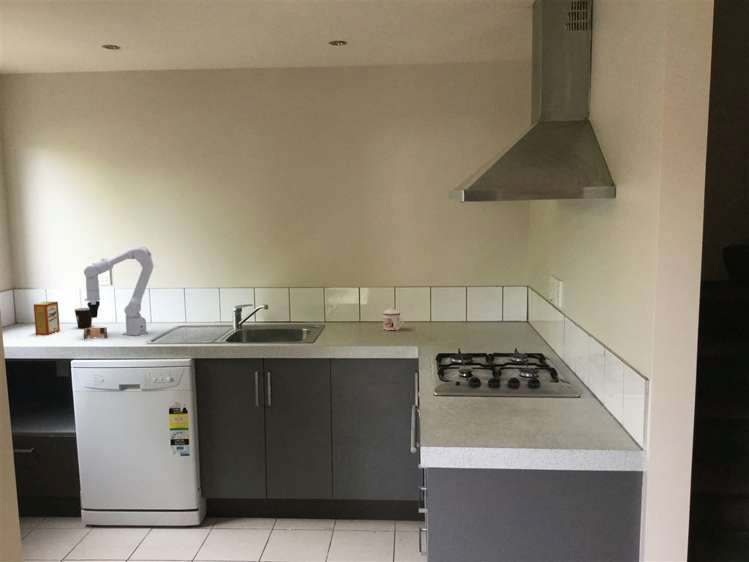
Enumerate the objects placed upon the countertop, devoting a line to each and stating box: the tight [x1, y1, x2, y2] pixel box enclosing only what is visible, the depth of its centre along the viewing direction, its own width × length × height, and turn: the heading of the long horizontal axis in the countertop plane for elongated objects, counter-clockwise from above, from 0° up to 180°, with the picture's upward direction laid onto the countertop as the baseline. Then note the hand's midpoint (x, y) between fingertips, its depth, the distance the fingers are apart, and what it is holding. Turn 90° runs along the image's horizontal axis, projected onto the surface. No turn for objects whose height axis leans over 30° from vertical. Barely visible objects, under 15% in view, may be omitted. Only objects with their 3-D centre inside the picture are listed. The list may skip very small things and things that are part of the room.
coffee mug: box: [74, 307, 93, 330], centre depth 321 cm, size 12×9×10 cm
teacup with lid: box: [382, 306, 405, 331], centre depth 310 cm, size 12×9×12 cm
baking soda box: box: [33, 301, 61, 336], centre depth 308 cm, size 10×6×16 cm
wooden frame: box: [82, 327, 108, 341], centre depth 300 cm, size 14×10×3 cm
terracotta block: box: [89, 327, 102, 339], centre depth 298 cm, size 4×4×4 cm
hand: (94, 316), depth 301 cm, fingers open, 5 cm apart
